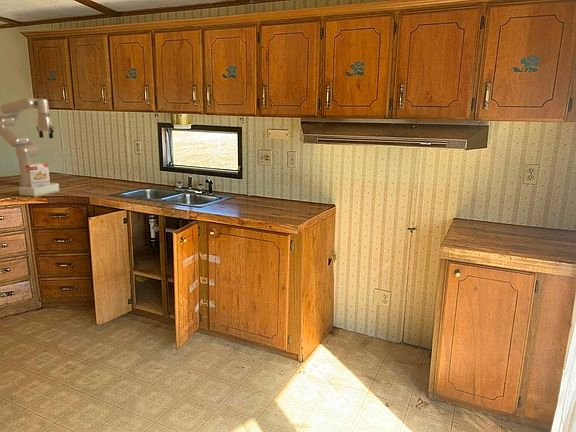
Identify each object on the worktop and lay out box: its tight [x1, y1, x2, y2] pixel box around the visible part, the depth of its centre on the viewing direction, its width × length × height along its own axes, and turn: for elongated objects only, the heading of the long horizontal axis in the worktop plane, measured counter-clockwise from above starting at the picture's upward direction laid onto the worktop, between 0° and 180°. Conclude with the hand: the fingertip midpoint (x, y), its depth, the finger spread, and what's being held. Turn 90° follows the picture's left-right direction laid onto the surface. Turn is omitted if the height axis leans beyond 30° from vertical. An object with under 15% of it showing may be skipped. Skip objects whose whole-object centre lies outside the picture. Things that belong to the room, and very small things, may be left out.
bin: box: [18, 182, 60, 198], centre depth 319 cm, size 14×22×6 cm, turn 162°
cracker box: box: [25, 162, 51, 188], centre depth 317 cm, size 14×6×21 cm, turn 148°
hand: (46, 137), depth 337 cm, fingers open, 9 cm apart
